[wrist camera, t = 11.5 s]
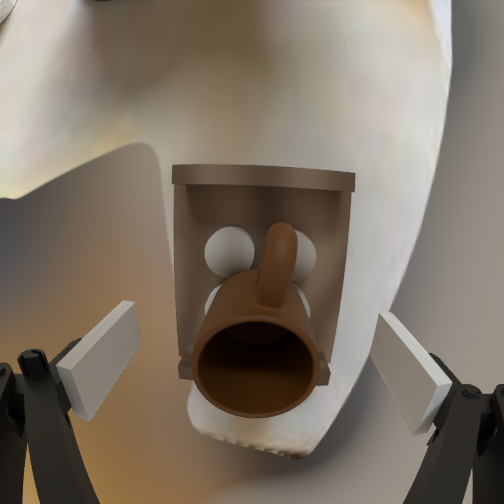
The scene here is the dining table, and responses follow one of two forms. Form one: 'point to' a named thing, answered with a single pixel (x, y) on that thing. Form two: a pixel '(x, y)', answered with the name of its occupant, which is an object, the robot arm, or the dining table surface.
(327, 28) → the dining table surface
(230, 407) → the mug
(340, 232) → the peg stand
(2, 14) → the white cup
